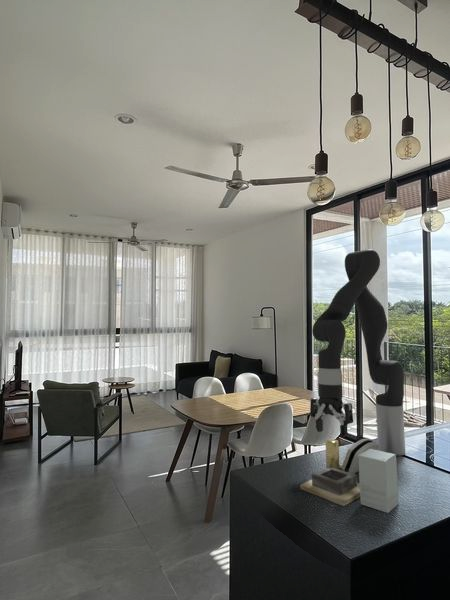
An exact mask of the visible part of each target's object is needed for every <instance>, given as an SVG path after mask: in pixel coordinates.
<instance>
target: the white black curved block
mask: <svg viewBox="0 0 450 600" xmlns="http://www.w3.org/2000/svg"><path fill="white" fill-rule="evenodd" d="M378 448H379V445H378V442H377V441H373V440H372V439H370V438H362V439H360V440H358V441H356V442H355V443H353V444H351V446H350V447H349V448H348V449H347V452H346V454H345V457H344V459H343V462H342V463H341V464H339V467H340V470H342V471H345V472H348V473H351V474H354V475H355V474H356V473H357V472H358V473H359V461H358V455H360V454H361V453H363V452H365V451H367V450H368V449H373V450H378Z"/></svg>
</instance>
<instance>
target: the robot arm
mask: <svg viewBox="0 0 450 600" xmlns="http://www.w3.org/2000/svg"><path fill="white" fill-rule="evenodd" d="M380 259H381V258H380V255H379V254H378V252H377V251H376V250H374V249H372V248H371V249H363V250H357V251H352V252H349V253H347V254H346V255H345V257H344V268H345V272H346V276H347V279H348V282H346V283H345V284H344V285H343V286H342V287H341V288H340V289H339V290H338V291H337V292H336V293H335V295H334V296H333V298H332V300H331V302H330V304H329V306H328V308H326V309H325V310H324V311H323V312H322V314H320V316H318V318H317V319H316V320H315V322H314V323H313V326H312V336H313V338H314V339H315V340H316V341H318V342H321V343H322V342H325V343H328V344H327V347H326V348H323V349H320V350H319V351H318V356H317V359H318V361H317V367H318V370H317V395H318V396H317V397H311V398H310V406H309V407H310V410H309V412H310V413H309V416H310V417H312V418H314V420H315V428H316V431H317V432H319V433H321V432H323V431H324V424H323V423H324V419H323V417H324V415H330V416H333V417H335V419H336V420H338V422H339V424H340V425H339V431H340V433H339V436H340V438H346V437H347V436H348V432H349V431H348V425H350V424H352V423H354V414H353V404H352V403H351V402H349V403H344V402H343V396H344V395H343V394H344V393H343V373H342V361H341V360H342V358H341V356H342V351H343V349H344V348H343V347H344V343H345V339H346V332H347V331H346V327H345V324H344V323H343V322H344V321H346V320H347V319H348V318H349V316H350V313H351V312H352V310H353V308H354V306H356V310H357V316H358V321H359V323H360V328H361V332H362V335H363V341H364V346H365V351H366V357H367V366H368V371H369V375H370V379H371V381H372V382H373V383H374V384H375V385H380V386H381V385H382V386H387V391H386V392H384V393H380V394H377V395H375V413H376V415H375V417H376V434H377V435H376V436H377V444H378V445H379V448H378V451H382V452H387V453H392V454H396V457H397V456H404V455H405V454H406V440H405V439H406V438H405V437H406V436H405V434H406V433H405V419H404V418H405V417H404V396H405V372H404V367H403V365H402V362H399V361H397V360H389V359H388V360H387V359H386V360H385V359H383V356H382V350H381V346H382V343H383V341H384V338H385V335H386V334H387V331H388V326H389V325H388V320H387V315H386V311H385V308H384V305H383V304H382V303H381V302H380V301H379V300H378V299H377V297H376V296H375V295H374V294H373V293H372V291H370V290H369V287H368V284H369V283H370V282H371V281H372V279H373V278H374V277H375V276H376V274H377V272H378V271H379V269H380V265H381V260H380ZM318 397H319V398H318Z"/></svg>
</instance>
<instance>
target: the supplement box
mask: <svg viewBox="0 0 450 600" xmlns="http://www.w3.org/2000/svg"><path fill="white" fill-rule="evenodd" d="M358 461H359V471H358V475H359V477H358V478H359V479H358V480H359V484H360V497H359V498H360V505H363V506H365V507H369V508H372V509H375V510H378V511H380V512H383V513H385V514H386V513H387V514H389V513H390V512H391V511H392V510H393V509H394V508H395V507H397V506H399V503H400V502H399V487H398V486H399V484H398V471H397V470H398V469H397V467H398V466H397V456H396V454H392V453H387V452H382V451H378V450H373V449H368V450H367V451H365V452H363V453H361V454H360V455H358Z"/></svg>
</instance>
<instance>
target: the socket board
mask: <svg viewBox="0 0 450 600" xmlns="http://www.w3.org/2000/svg"><path fill="white" fill-rule="evenodd" d="M357 481H358V480H357V475H356V474H355V473H354V474H351V473H348V472H347V471H343V470H342V469H341V470H339V469H335V468H332V467H328V468H326V467H325V468H323V469H321V470H318V471H317V472H314V473H312V474H311V479H309V480H307V481H305V482H302V483H301V484H300V486H299V487H300V488H299V489H300V490H302V491H304V492H307V493H308V494H309V493H310V494H312V495H314V496H317V497H320V498H322V499H325V500H327V501H330V502H331V503H334V504H337V505H340V506H342V507H346V506H347V505H349V504H350V503H352V502H354V501H355V500H357V499H359V498H360V482H359V483H358V482H357Z"/></svg>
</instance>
